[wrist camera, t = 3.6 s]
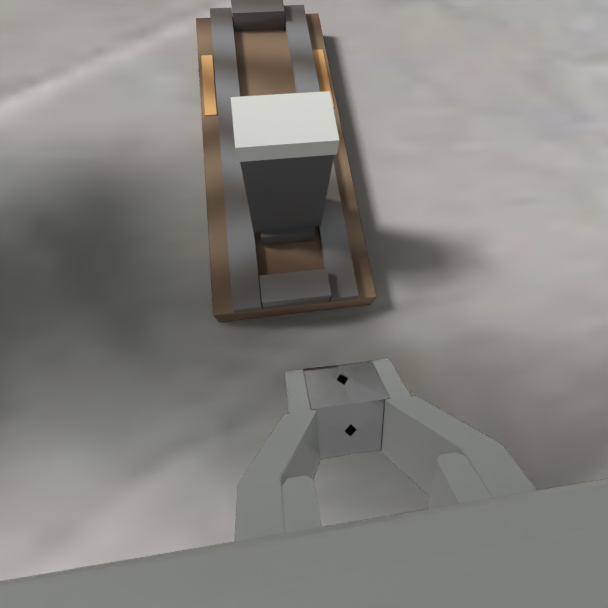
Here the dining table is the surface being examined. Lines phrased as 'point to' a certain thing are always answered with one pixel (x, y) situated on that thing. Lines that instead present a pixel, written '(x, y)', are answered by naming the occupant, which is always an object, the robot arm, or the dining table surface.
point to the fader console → (229, 179)
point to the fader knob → (285, 161)
